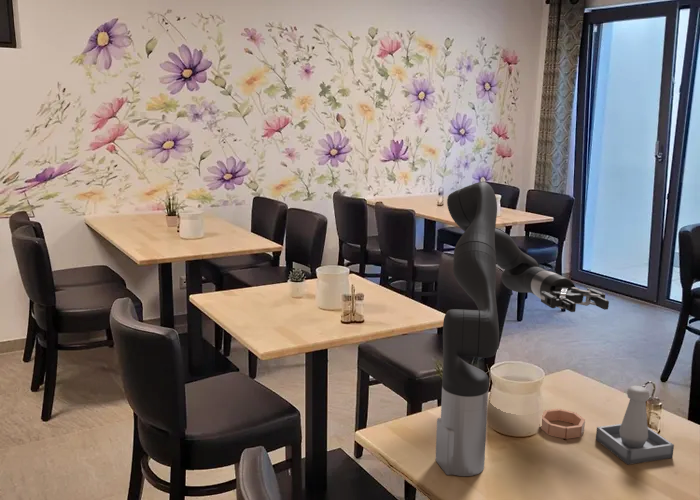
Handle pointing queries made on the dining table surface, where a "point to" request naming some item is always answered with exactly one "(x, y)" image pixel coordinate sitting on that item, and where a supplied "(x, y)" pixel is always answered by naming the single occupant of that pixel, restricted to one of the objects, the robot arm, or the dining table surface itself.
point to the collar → (561, 430)
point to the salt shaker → (635, 418)
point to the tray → (650, 451)
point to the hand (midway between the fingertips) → (590, 306)
